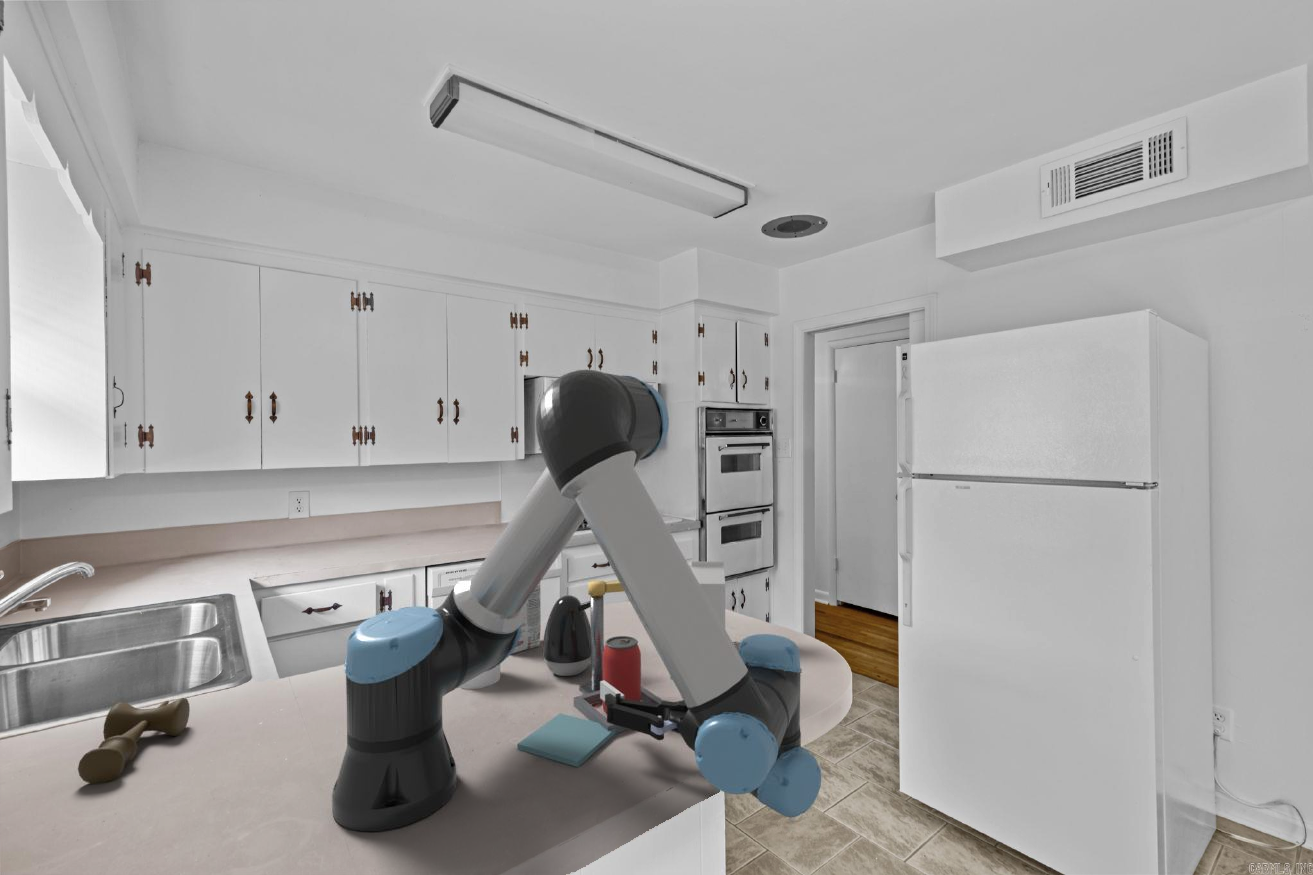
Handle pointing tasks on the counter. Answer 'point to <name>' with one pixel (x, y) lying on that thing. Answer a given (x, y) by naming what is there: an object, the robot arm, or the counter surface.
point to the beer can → (623, 666)
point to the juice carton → (530, 622)
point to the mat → (566, 739)
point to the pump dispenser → (567, 637)
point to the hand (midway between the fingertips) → (638, 679)
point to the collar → (593, 715)
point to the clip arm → (603, 587)
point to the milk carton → (712, 584)
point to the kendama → (129, 737)
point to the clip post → (596, 645)
